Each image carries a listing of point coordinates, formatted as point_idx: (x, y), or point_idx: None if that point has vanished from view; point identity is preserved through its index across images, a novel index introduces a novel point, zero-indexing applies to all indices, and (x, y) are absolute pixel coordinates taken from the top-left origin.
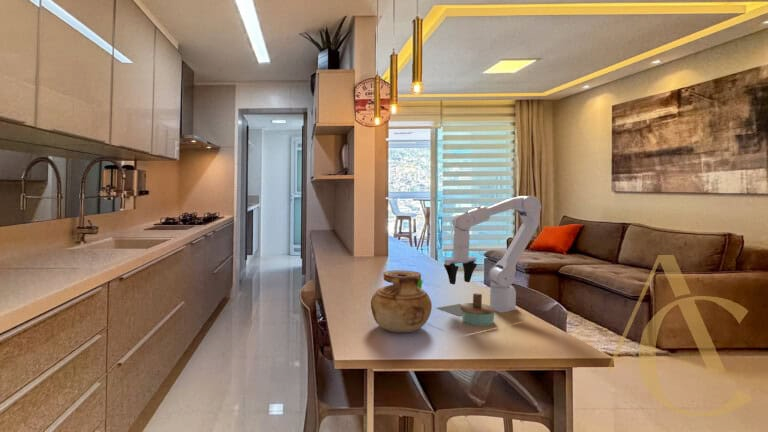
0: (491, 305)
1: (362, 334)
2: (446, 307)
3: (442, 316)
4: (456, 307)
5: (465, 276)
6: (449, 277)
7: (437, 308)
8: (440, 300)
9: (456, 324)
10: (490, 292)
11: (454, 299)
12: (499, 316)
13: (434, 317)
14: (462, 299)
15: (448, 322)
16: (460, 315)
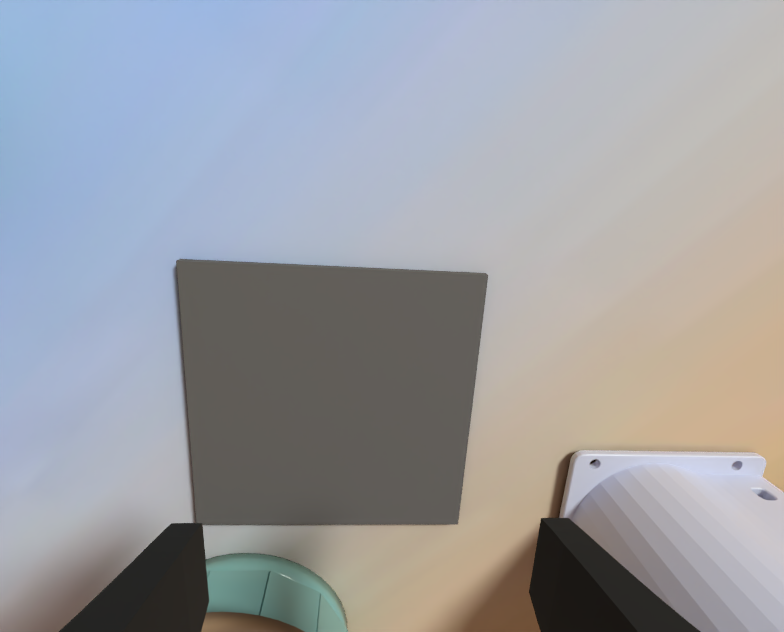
0: (586, 529)
1: None
2: (284, 301)
3: (94, 444)
4: (366, 348)
5: (585, 612)
6: (90, 629)
7: (178, 283)
8: (463, 23)
9: (74, 608)
10: (673, 597)
11: (624, 85)
12: (477, 614)
13: (12, 434)
14: (688, 136)
15: (46, 560)
16: (223, 517)
